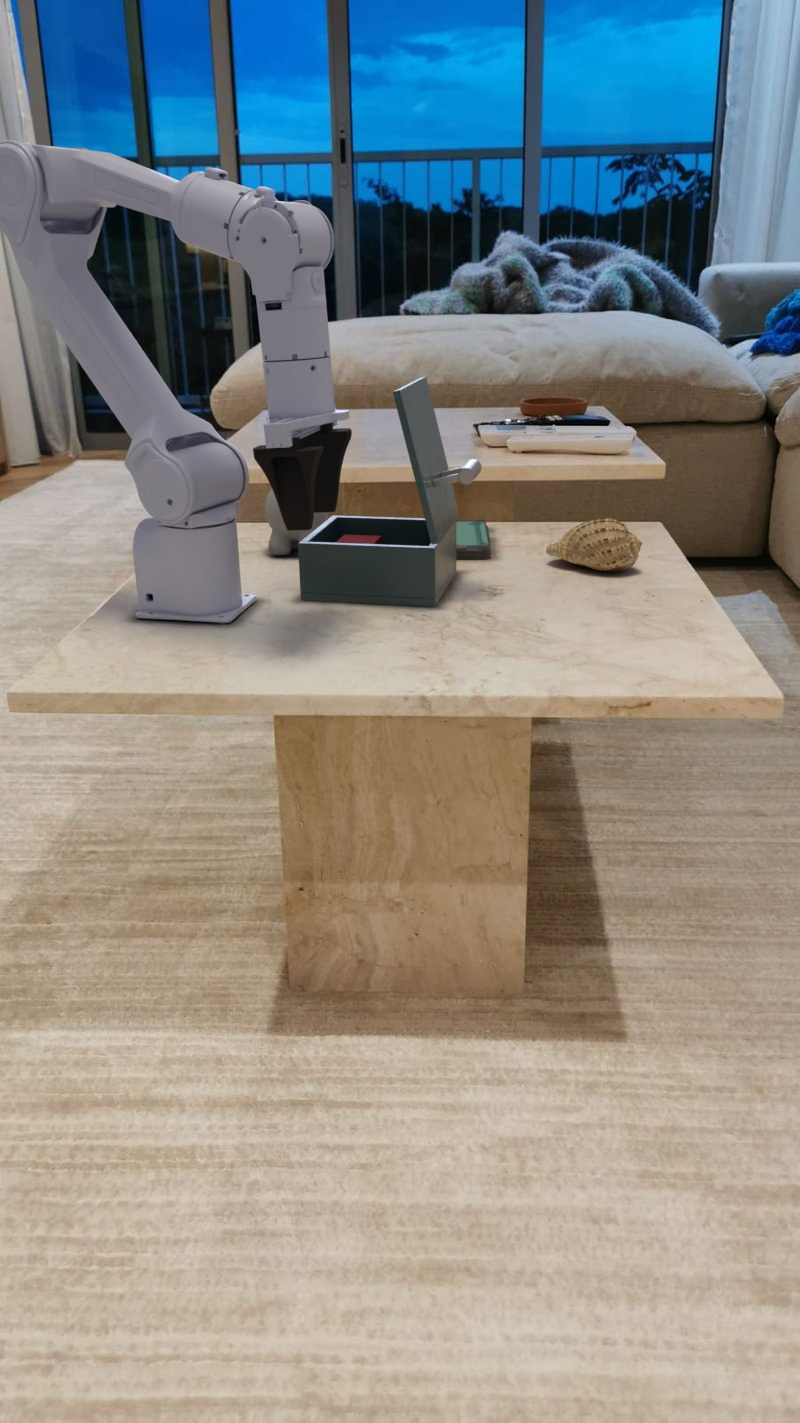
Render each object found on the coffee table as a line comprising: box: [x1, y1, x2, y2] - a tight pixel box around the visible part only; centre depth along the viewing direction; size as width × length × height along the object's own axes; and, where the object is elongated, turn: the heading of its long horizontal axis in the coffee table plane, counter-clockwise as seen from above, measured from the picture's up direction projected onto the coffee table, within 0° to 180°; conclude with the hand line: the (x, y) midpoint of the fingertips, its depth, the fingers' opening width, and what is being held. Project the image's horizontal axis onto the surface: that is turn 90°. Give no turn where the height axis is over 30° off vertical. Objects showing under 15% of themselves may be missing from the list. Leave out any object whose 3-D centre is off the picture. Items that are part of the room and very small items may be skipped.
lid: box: [392, 376, 482, 545], centre depth 104 cm, size 14×13×5 cm
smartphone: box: [456, 519, 492, 560], centre depth 127 cm, size 7×1×15 cm
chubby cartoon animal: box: [264, 488, 329, 556], centre depth 125 cm, size 7×12×8 cm, turn 171°
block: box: [335, 535, 381, 544], centre depth 110 cm, size 4×4×4 cm
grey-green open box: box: [297, 515, 458, 608], centre depth 110 cm, size 14×13×6 cm
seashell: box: [545, 517, 643, 573], centre depth 116 cm, size 8×6×10 cm
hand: (312, 520), depth 95 cm, fingers open, 7 cm apart
